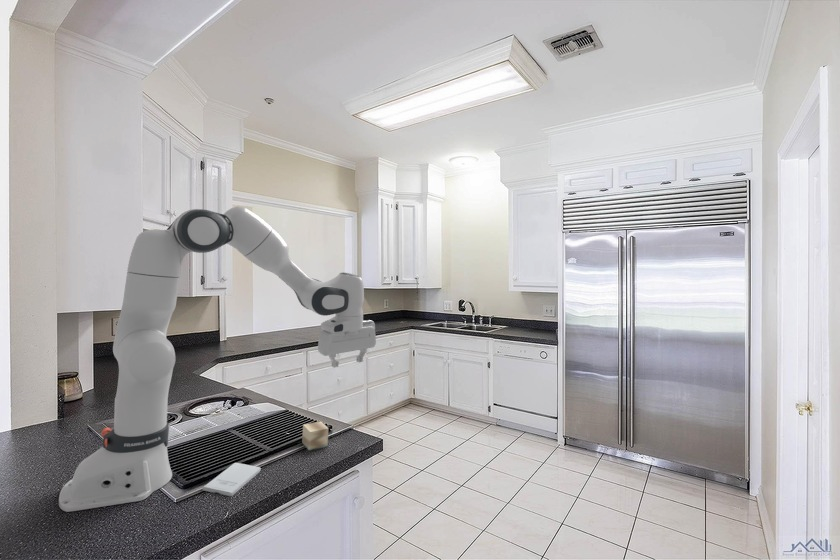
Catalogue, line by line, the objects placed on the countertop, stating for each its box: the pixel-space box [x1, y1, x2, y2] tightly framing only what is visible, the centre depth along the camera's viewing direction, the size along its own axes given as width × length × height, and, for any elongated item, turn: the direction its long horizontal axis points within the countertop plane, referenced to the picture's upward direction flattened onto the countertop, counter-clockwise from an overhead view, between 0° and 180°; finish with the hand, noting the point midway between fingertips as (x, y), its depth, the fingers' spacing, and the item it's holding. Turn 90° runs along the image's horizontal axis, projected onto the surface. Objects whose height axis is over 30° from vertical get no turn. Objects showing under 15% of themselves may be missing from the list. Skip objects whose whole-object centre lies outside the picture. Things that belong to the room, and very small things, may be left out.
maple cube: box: [301, 421, 329, 451], centre depth 131 cm, size 6×6×6 cm
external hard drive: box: [202, 462, 262, 497], centre depth 108 cm, size 2×8×12 cm
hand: (347, 364), depth 135 cm, fingers open, 8 cm apart
